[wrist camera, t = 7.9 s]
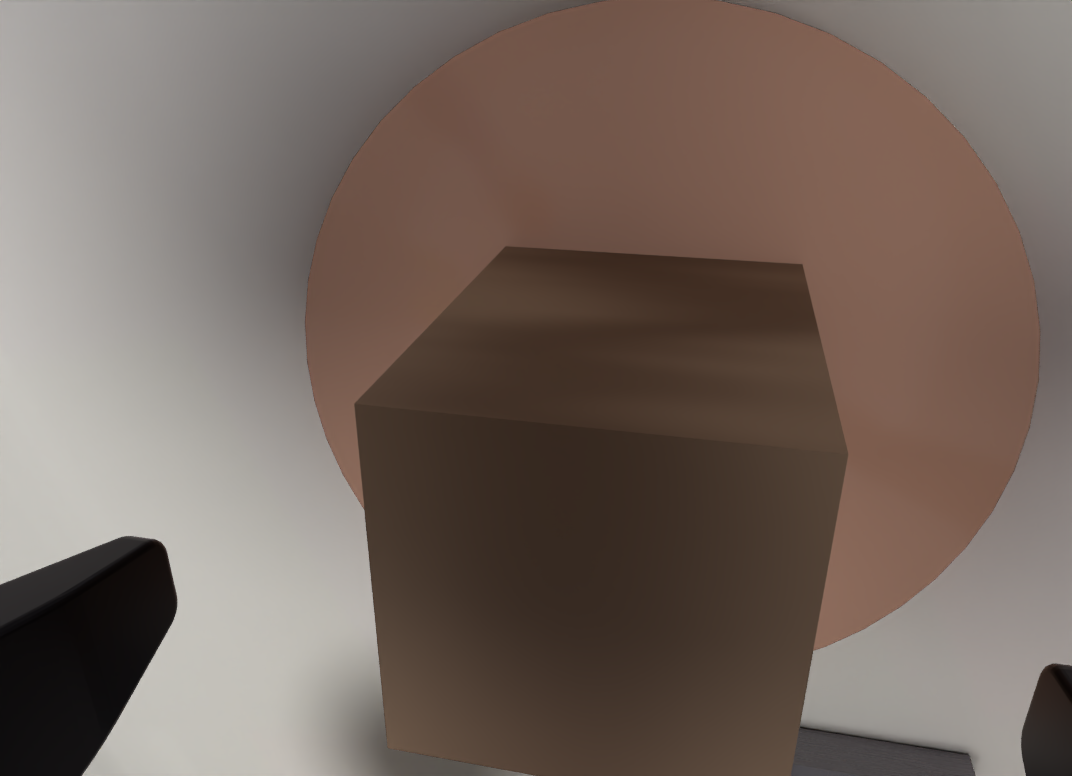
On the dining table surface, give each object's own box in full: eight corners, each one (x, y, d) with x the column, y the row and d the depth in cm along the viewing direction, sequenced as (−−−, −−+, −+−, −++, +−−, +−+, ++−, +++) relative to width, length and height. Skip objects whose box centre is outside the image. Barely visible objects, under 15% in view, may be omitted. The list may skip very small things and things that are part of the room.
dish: (1109, -4, 11) (1147, -5, 10) (935, 672, 16) (949, 718, 15) (299, -3, 14) (262, -3, 13) (362, 589, 19) (339, 624, 18)
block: (801, 264, 13) (847, 453, 7) (767, 522, 15) (783, 821, 9) (506, 245, 14) (354, 404, 8) (508, 490, 15) (387, 748, 10)
